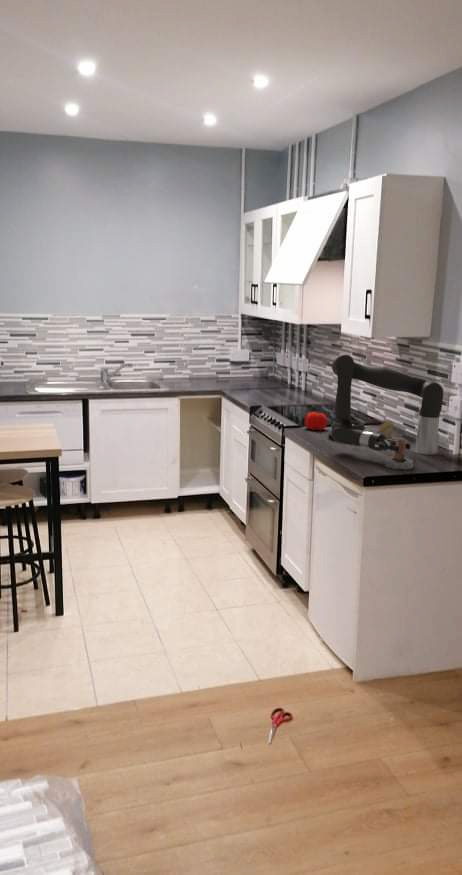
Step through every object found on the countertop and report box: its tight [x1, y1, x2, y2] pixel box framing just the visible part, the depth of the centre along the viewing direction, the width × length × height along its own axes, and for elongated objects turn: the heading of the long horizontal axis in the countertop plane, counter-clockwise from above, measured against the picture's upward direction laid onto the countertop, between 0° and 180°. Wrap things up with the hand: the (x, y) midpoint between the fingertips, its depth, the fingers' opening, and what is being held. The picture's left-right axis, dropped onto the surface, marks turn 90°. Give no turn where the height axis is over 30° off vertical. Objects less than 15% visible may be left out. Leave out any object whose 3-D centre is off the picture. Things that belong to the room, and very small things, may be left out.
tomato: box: [304, 411, 328, 431], centre depth 391 cm, size 11×12×9 cm
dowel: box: [394, 437, 407, 461], centre depth 316 cm, size 4×4×12 cm
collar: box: [384, 456, 414, 471], centre depth 317 cm, size 11×11×3 cm
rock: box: [376, 420, 394, 440], centre depth 372 cm, size 11×9×10 cm
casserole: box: [327, 419, 366, 438], centre depth 370 cm, size 25×19×8 cm
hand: (404, 447), depth 314 cm, fingers open, 8 cm apart
